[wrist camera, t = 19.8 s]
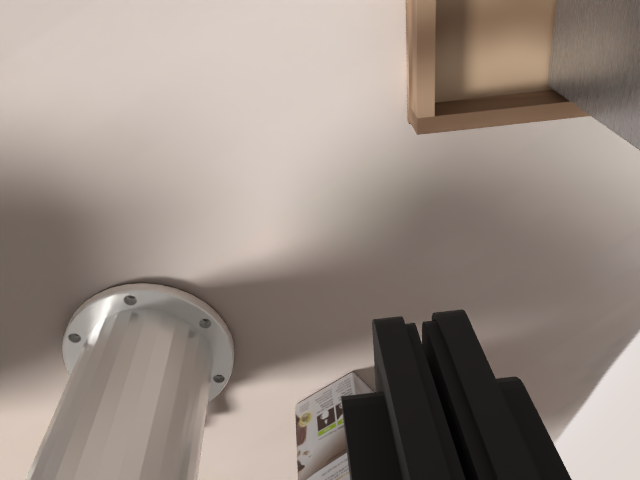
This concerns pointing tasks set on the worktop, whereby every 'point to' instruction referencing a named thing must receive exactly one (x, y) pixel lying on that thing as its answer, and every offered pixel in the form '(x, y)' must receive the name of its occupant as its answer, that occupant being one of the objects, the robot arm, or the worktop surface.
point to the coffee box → (325, 431)
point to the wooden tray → (480, 64)
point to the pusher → (599, 61)
